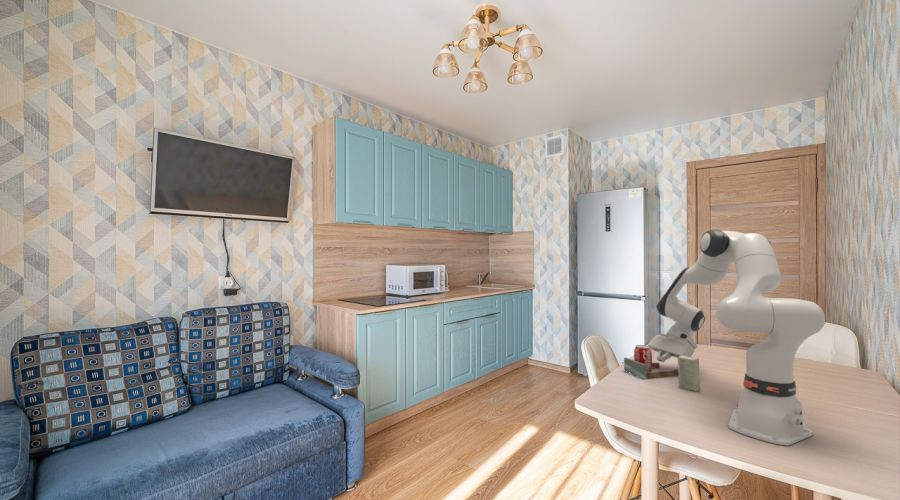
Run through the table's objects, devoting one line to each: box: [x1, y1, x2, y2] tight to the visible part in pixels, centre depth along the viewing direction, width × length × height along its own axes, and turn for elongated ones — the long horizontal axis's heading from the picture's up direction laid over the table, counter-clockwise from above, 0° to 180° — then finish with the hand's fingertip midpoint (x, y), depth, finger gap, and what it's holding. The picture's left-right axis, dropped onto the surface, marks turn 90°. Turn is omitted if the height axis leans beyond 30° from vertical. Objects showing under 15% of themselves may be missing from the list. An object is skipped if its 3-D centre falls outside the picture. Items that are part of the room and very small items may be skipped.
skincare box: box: [677, 355, 701, 392], centre depth 144 cm, size 6×4×12 cm
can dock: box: [623, 357, 679, 380], centre depth 163 cm, size 18×12×6 cm, turn 104°
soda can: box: [633, 344, 653, 372], centre depth 163 cm, size 7×7×12 cm
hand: (659, 360), depth 164 cm, fingers closed
